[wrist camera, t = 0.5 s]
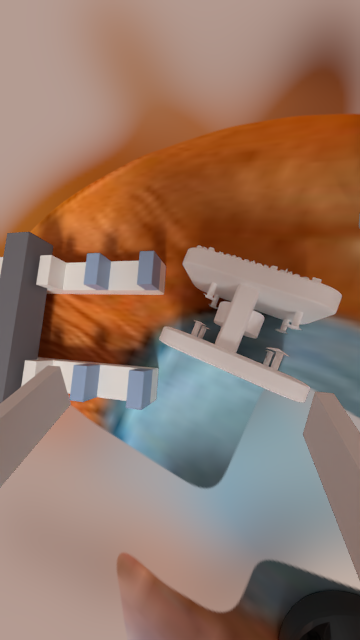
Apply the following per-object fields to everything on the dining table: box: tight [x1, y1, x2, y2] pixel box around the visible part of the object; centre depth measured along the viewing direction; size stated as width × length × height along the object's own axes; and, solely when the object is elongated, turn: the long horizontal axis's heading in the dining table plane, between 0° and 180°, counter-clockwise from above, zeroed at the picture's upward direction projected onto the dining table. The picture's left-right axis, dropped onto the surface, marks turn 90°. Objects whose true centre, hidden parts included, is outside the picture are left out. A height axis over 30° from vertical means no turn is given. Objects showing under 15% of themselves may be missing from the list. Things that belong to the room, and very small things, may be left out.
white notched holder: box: [0, 251, 166, 410], centre depth 33 cm, size 20×26×6 cm
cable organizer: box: [159, 245, 342, 403], centre depth 25 cm, size 15×11×12 cm
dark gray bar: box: [0, 232, 53, 404], centre depth 33 cm, size 26×4×4 cm, turn 176°
